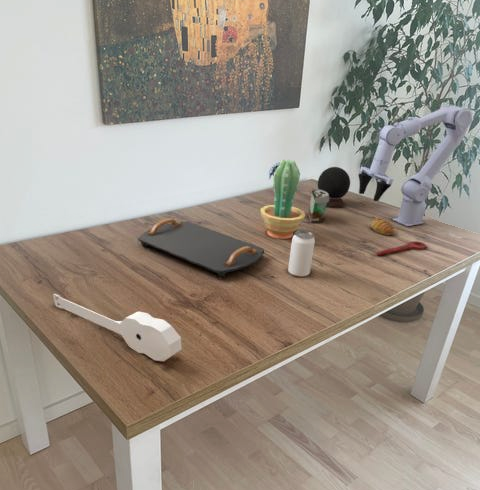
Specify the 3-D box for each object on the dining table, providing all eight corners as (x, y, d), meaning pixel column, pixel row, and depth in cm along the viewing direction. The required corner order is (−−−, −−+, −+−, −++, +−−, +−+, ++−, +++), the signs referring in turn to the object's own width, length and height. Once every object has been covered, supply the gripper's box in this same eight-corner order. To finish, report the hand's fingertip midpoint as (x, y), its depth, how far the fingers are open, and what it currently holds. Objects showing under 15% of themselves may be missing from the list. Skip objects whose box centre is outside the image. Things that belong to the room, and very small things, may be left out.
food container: (327, 225, 179) (332, 199, 174) (311, 224, 178) (315, 197, 173) (323, 214, 189) (327, 189, 184) (308, 212, 189) (311, 187, 184)
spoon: (417, 242, 170) (418, 238, 169) (429, 248, 166) (430, 244, 165) (371, 253, 159) (372, 248, 158) (382, 259, 155) (383, 254, 154)
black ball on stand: (349, 202, 205) (356, 166, 198) (342, 210, 194) (348, 173, 187) (319, 196, 209) (325, 161, 202) (310, 204, 199) (316, 168, 191)
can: (295, 278, 138) (301, 239, 132) (283, 269, 143) (288, 231, 137) (314, 275, 141) (320, 237, 135) (301, 266, 146) (307, 229, 140)
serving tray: (272, 260, 148) (274, 241, 145) (226, 285, 131) (227, 264, 128) (180, 226, 167) (180, 209, 164) (129, 244, 150) (128, 225, 147)
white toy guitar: (70, 308, 120) (56, 314, 117) (65, 278, 116) (50, 284, 113) (184, 358, 100) (170, 367, 97) (182, 325, 96) (168, 333, 94)
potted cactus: (291, 224, 176) (300, 155, 164) (309, 241, 164) (321, 167, 151) (251, 226, 171) (258, 155, 159) (267, 243, 159) (275, 167, 146)
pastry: (398, 235, 175) (400, 225, 173) (383, 237, 172) (386, 227, 170) (381, 226, 182) (383, 216, 180) (367, 227, 179) (369, 218, 177)
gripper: (359, 153, 175) (347, 190, 181) (389, 165, 165) (375, 203, 171) (372, 155, 179) (360, 190, 185) (402, 167, 169) (388, 204, 175)
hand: (368, 197), depth 179 cm, fingers open, 7 cm apart
